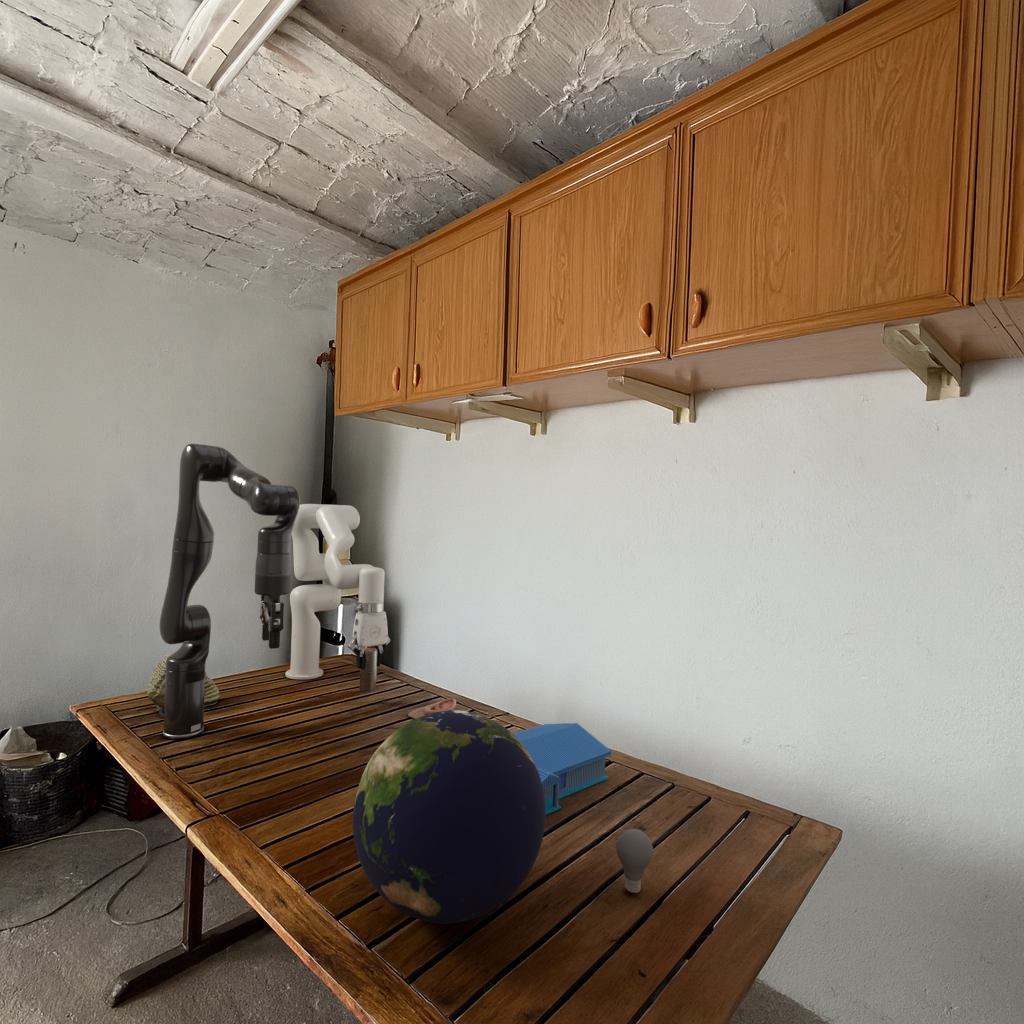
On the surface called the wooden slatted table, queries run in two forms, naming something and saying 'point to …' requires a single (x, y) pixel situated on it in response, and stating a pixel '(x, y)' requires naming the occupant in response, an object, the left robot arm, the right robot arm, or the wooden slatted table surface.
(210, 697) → the fossil
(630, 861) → the light bulb
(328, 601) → the right robot arm
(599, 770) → the model building
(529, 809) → the globe
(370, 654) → the can
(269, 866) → the wooden slatted table surface
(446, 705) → the anatomical model
